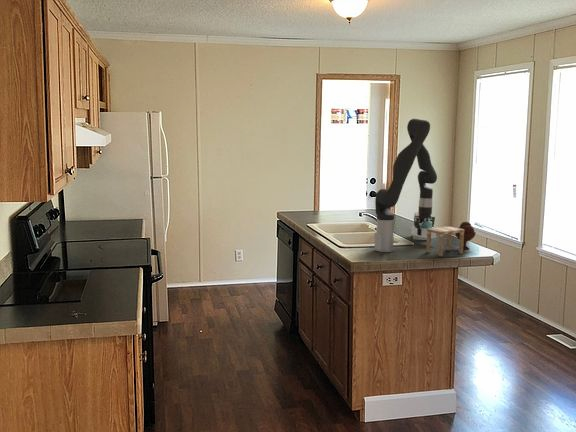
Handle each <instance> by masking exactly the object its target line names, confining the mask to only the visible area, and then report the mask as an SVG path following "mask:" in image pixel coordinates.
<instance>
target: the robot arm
mask: <svg viewBox="0 0 576 432" xmlns="http://www.w3.org/2000/svg"><path fill="white" fill-rule="evenodd" d="M406 128H407V129H406V130H407V133H408V136H409V139H410V141H411V142H410V143H409V144H408V145H406V146H405V147H404V148H403V149H401V151H400V152H399V153H398V154H397V156H396V158H395V160H394V163H393V166H392V180H391V183H390V185H389V187H388V189H385V188H380V189H379V190H378V191H377V192H376V195H375V202H374V203H375V214H376V232H375V233H374V249H373V250H374V251H376V252H378V253H379V252H380V253H391V252H393V251H394V235H395V214H394V213H393V212H392V210H391V208H394V207H395V206H396V204H398V201H399V199H400V197H401V196H400V195H401V193H402V190H403V187H404V185H405V182H406V180H407V178H408V175H409V173H410V172H411V168H412V167H413V165H414V162H415V160H416V159H417V163H418V168H419V169H420V171H419V172H418V174H417V183H418V186H419V187H418V188H419V200H418V211H417V212H418V213H419V217H417V218H416V217H415V218H414V217H413V225H414V224H415V228H417V234H418V235H421V228H422V226H423V225H424V223H425V221H430V222H432V228H435V221H436V216H433V215H432V214H433V213H432V212H433V194H434V193H433V192H434V191H433V190H434V189H433V188H432V187H429V186H427V184H429V185H430V184H431V185H432V184H435V183H436V182H437V179H438V175H437V172H436V170H435V168H434V166H433V164H432V161H431V156H430V153H429V150H428V149H427V147H426V146H425V145H424V142H425V141H426V138H427V137H428V136H429V133H430V130H431V124H430V122H429V120H425V119H419V118H411V119H410V120H409V121H408V122H407V127H406Z"/></svg>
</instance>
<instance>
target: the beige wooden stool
mask: <svg viewBox="0 0 576 432" xmlns="http://www.w3.org/2000/svg"><path fill="white" fill-rule="evenodd" d="M431 232H433V233H436V235H437V234H438V235H439V242H438V243H439V244H438V257H443V256H444V237H445V235H446V246H445V249H446V251H451V247H452V246H451V243H452V234H455V233H460V240H459V241H458V242H459V243H458V244H459V245H458V254H460V255H462V254H464V250H463V244H464V229H460V228H459V227H456V226H455V227H453V226H450V225H449V226H440V227H432V228H428V229H427V240H426V252H425V253H427V254H430V253H431V245H432V243H431V242H432V238H431Z"/></svg>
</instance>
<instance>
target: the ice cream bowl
mask: <svg viewBox="0 0 576 432" xmlns="http://www.w3.org/2000/svg"><path fill="white" fill-rule="evenodd" d="M458 228H460V229H464V244H463V251H464V250H465V251H466V250H468V251H469V250H470V247H468V246H467V242H470V241H471V240H473V239H474V238H475V236H476V232H475V229H474V227H473V226H472V224H471V223H470V222H468V221H462V222H461V223H460V225H459V226H458ZM454 235H455V236H456V238H457V240H459V241H460V233H454Z"/></svg>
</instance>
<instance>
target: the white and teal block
mask: <svg viewBox="0 0 576 432" xmlns="http://www.w3.org/2000/svg"><path fill="white" fill-rule="evenodd" d="M428 228H433V227H432V222H430V221H425V223H424V225H423V226H422V228H421V235H418V234H417V228H415V226H414V225H412V226H411V235H412V236H413V235H415V236H419V237H424V238H427V229H428ZM436 238H437V233H433V232H431V239H436Z"/></svg>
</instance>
